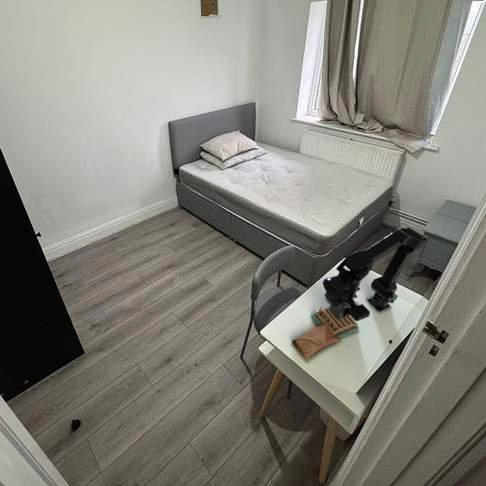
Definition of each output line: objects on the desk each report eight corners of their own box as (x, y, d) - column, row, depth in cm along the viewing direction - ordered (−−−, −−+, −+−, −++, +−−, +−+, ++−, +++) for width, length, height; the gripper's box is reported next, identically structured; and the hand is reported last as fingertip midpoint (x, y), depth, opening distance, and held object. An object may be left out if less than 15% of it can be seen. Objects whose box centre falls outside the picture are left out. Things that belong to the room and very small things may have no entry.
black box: (341, 305, 116) (344, 296, 113) (349, 315, 112) (353, 306, 109) (328, 309, 114) (331, 300, 111) (337, 320, 110) (340, 311, 107)
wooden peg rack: (336, 307, 123) (341, 295, 119) (357, 331, 114) (363, 319, 110) (311, 316, 120) (314, 304, 115) (330, 342, 111) (335, 330, 106)
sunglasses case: (307, 362, 104) (303, 345, 103) (294, 353, 110) (290, 337, 110) (342, 340, 111) (339, 324, 110) (328, 332, 117) (325, 317, 116)
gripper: (315, 272, 109) (307, 298, 117) (350, 311, 94) (339, 338, 103) (338, 264, 112) (330, 290, 121) (377, 301, 97) (364, 328, 106)
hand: (339, 310), depth 112 cm, fingers closed on black box, 5 cm apart
